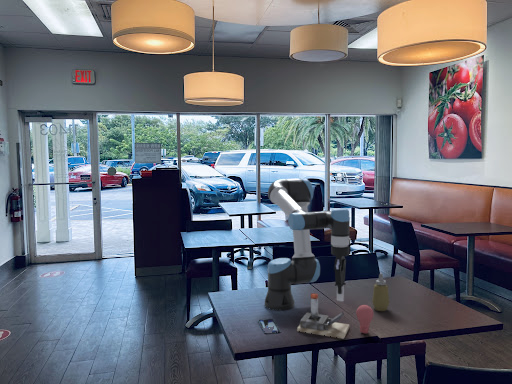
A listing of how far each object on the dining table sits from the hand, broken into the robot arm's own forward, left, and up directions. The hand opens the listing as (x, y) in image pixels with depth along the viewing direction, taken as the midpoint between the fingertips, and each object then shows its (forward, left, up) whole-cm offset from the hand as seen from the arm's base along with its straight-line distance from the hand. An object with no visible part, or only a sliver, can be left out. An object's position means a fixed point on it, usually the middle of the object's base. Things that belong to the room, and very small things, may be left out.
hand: (340, 300), depth 174 cm
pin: (-11, 0, -12) cm, 17 cm away
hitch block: (-7, 0, -14) cm, 16 cm away
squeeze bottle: (+13, +34, -14) cm, 39 cm away
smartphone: (-30, -6, -15) cm, 34 cm away
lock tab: (-2, 0, -9) cm, 10 cm away
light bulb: (+10, +3, -14) cm, 18 cm away
